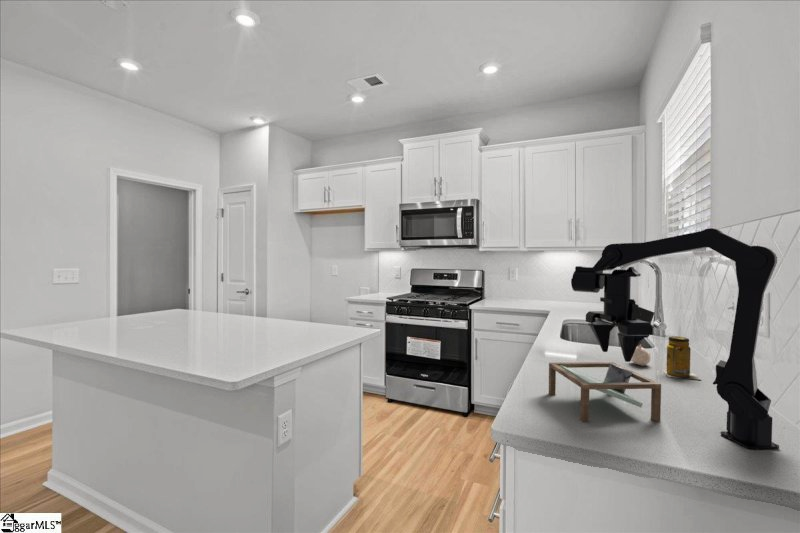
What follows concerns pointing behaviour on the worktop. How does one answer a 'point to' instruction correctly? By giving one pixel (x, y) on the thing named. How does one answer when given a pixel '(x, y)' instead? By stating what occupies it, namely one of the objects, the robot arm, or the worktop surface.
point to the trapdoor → (607, 391)
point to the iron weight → (617, 376)
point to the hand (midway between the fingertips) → (615, 356)
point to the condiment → (679, 358)
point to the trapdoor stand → (605, 386)
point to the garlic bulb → (641, 356)
